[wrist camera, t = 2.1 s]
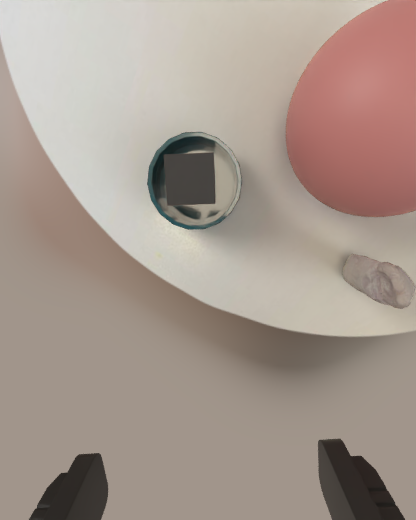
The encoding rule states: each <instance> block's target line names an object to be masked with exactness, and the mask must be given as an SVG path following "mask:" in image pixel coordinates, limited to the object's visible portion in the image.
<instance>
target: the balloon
mask: <svg viewBox="0 0 416 520" xmlns="http://www.w3.org/2000/svg"><path fill="white" fill-rule="evenodd" d="M286 145H287V151H288V156H289V159H290V162H291V165H292V168H293V170H294V172H295V174H296V176H297V177H298V179H299V181H300V182H301V183H302V185H303V186H304V187H305V188H306V189H307V191H308V192H309V193H310V194H312V195H313V196H314V197H315V198H316V199H318V200H319V201H320V202H322V203H324V204H325V205H327V206H329V207H331V208H333V209H335V210H338V211H341V212H344V213H347V214H351V215H357V216H365V217H385V216H393V215H400V214H404V213H408V212H412V211H415V210H416V0H388V1H385V2H383V3H380V4H378V5H376V6H374V7H372V8H370V9H368V10H366V11H365V12H363V13H361V14H360V15H358V16H357V17H355V18H354V19H352V20H351V21H349V22H348V23H347V24H345V25H344V26H343V27H342V28H340V29H339V30H338V31H337V32H336V33H335V34H334V35H333V36H332V37H330V38H329V39H328V40H327V41H326V43H325V44H324V45H323V46H322V47H321V48H320V49H319V50H318V52H317V53H316V54H315V56H314V57H313V58H312V60H311V61H310V62H309V64H308V65H307V67H306V69H305V70H304V72H303V74H302V76H301V77H300V79H299V81H298V83H297V86H296V88H295V90H294V93H293V96H292V99H291V102H290V106H289V110H288V115H287V121H286Z"/></svg>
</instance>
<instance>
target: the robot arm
mask: <svg viewBox="0 0 416 520" xmlns="http://www.w3.org/2000/svg"><path fill="white" fill-rule="evenodd" d="M318 458H319V459H318V460H319V479H320V484H321V489H322V492H323V495H324V498H325V501H326V504H327V506H328V509H329V512H330V515H331V517H332V520H405V519H404V517H403V515H402V514H401V512H400V510H399V508H398V507H397V506H396V505H395V502H394V500H393V498H392V497H391V495H390V493H389V492H388V491H387V489H386V487H385V485H384V483H383V481H382V480H381V478H380V476H379V475H378V473H377V471H376V470H375V469H374V468H373V467H372V466H371V465H370V464H369V463H368V462H367V461H366V460H365V459H364V458H363V457H362V456H350V454H349V452H348V450H347V448H346V447H345V444H344V443H343V441H342V440H341V439H328V440H319V441H318ZM107 497H108V483H107V479H106V474H105V470H104V465H103V461H102V457H101V455H100V454H99V453H94V454H80V455H78V456H77V457H76V458H75V460H74V462H73V463H72V465H71V467H70V469H69V471H68V473H61V474H60V475H59V476H58V477H57V478H56V479H55V480H54V481H53V482H52V483H51V484H50V486H49V487H48V488H47V489H46V491H45V493H44V494H43V496H42V498H41V500H40V501H39V503H38V505H37V509H35V510H34V512H33V514H32V515H31V517H30V519H29V520H101V518H102V515H103V512H104V509H105V506H106V503H107Z"/></svg>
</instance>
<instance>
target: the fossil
mask: <svg viewBox="0 0 416 520" xmlns="http://www.w3.org/2000/svg"><path fill="white" fill-rule="evenodd" d="M342 275H343V278H344V280H345V281H346V282H348V283H349V284H350V285H352V286H353V287H354V288H356V289H357V290H359V291H361V292H363V293H365V294H366V295H367V296H369V297H370V298H372V299H373V300H375V301H377V302H380V303H383V304H387V305H391V306H393V307H395V308H400V309H402V308H405V307H408V306H409V305H410V303H411V299H412V297H413V295H414V291H415V286H414V283H413V281H412V280H411V279H410V277H409V276H408V275H407V274H406V273H405V272H404V271H403V270H402V268H400V267H399V266H396V265H393V264H391V263H388V262H382V263H381V262H379V261H376V260H374V259H370V258H368V257H366V256H360V255H356V254H351V255H350V257H349V258H348V259H347V261H346V264H345V265H344V268H343V271H342Z"/></svg>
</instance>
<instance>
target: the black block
mask: <svg viewBox="0 0 416 520" xmlns="http://www.w3.org/2000/svg"><path fill="white" fill-rule="evenodd" d="M164 167H165V181H166V195H167V206H171V205H197V204H215V172H214V153H213V152H210V153H189V154H167V155H164Z"/></svg>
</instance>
